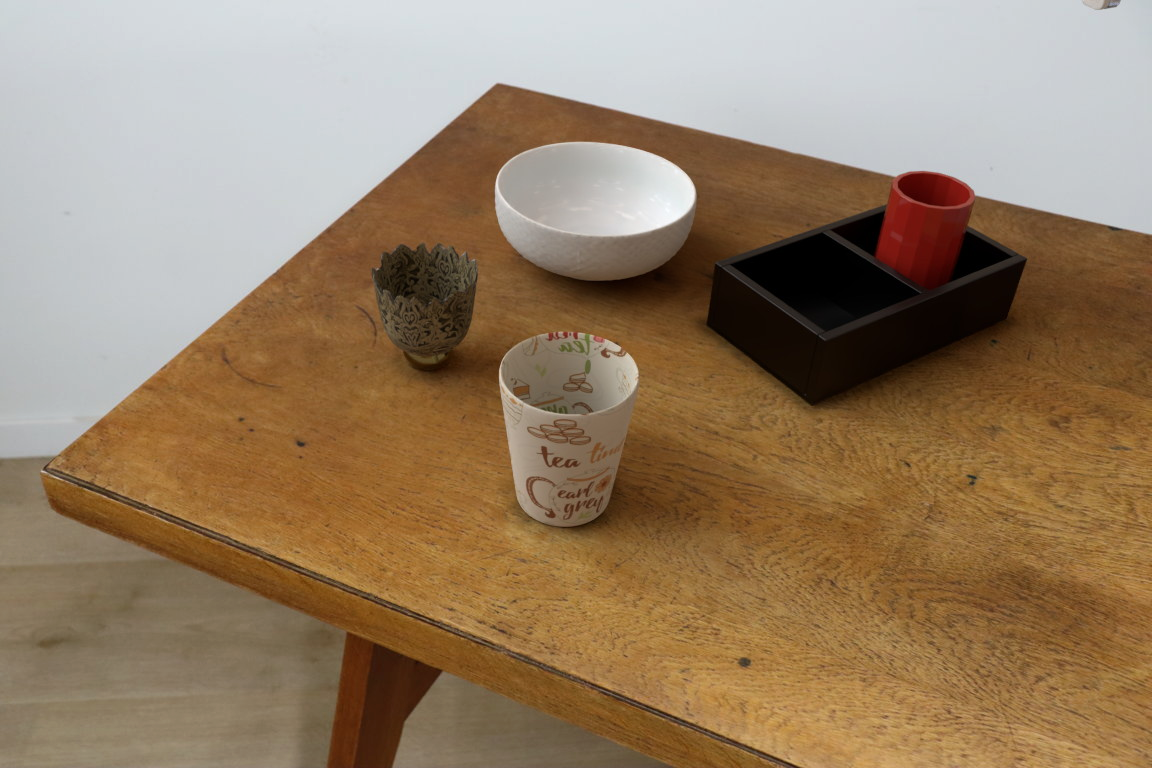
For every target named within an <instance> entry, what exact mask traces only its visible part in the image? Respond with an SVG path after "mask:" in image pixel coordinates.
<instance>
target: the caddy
mask: <svg viewBox="0 0 1152 768" xmlns="http://www.w3.org/2000/svg"><path fill="white" fill-rule="evenodd" d="M886 206H887V203H886V204H883V205H879V206H877V207H873V208H870V209H868V210H865V211H861V212H859V213H857V214H854V215H851V216H848V217H844V218H841V219H839V220H836V221H833V222H830V223H826V224H823V225H821V226H818V227H815V228H813V229H809V230H807V231H803V232H800V233H798V234H794V235H792V236H788V237H786V238H783V239H780V240H777V241H774V242H771V243H768V244H765V245H762V246H759V247H755V248H753V249H750V250H747V251H745V252H742V253H739V254H736V255H733V256H730V257H726V258H724V259H720V260H717V261H716V262H715V263H714V269H713V276H712V283H711V291H710V296H709V297H710V299H709V303H708V312H707V317H706V318H707V319H706V326H707V327H708V328H710V329H711V330H712V331H714V332H715V333H716V334H718V335H719V336H720V337H722V338H723V339H724V340H726V341H727V342H728V343H730V344H731V345H732V346H734V347H735V348H736V349H737V350H738V351H739V352H741V353H742V354H743V355H745V356H746V357H748V358H749V359H750V360H751V361H753V362H754V363H755V364H756V365H758V366H760V367H761V368H762V369H764V370H765V371H766V372H767V373H768V374H769V375H771V376H772V377H774V378H775V379H776V380H777V381H779V382H780V383H782V384H783V385H784V386H785V387H787V388H788V389H789V390H791V391H792V392H793V393H794V394H796V395H797V396H798V397H800V398H801V399H802V400H804V401H805V402H806V403H807V404H809V405H810V406H814V405H816V404H818V403H821V402H822V401H825V400H827V399H830V398H832V397H834V396H836V395H839V394H841V393H843V392H845V391H847V390H850V389H852V388H854V387H857V386H859V385H861V384H863V383H866V382H869V381H870V380H873V379H874V378H875V379H876V378H877V377H879V376H882V375H884V374H887V373H888V372H891V371H893V370H895V369H897V368H899V367H902V366H904V365H906V364H908V363H911V362H914V361H915V360H918V359H920V358H922V357H925V356H927V355H929V354H931V353H933V352H937V351H938V350H940V349H942V348H944V347H947V346H949V345H952V344H954V343H956V342H958V341H960V340H963V339H965V338H968V337H970V336H972V335H974V334H977V333H979V332H981V331H984V330H986V329H988V328H990V327H992V326H994V325H997V324H999V323H1002V322H1003V321H1006V320H1008V318H1009V313H1010V311H1011V308H1012V305H1013V303H1014V299H1015V296H1016V293H1017V290H1018V288H1019V284H1020V282H1021V278H1022V275H1023V272H1024V269H1025V267H1026V264H1027V260H1028V258H1027V257H1026V256H1024V255H1023V254H1020V253H1019V252H1017V251H1016V250H1013V249H1011V248H1010V247H1008V246H1005V245H1004V244H1002V243H1001V242H999V241H997V240H995V239H993V238H991V237H989V236H987V235H986V234H984V233H982V232H980V231H979V230H977V229H975V228H973V227H971V226H969V225H968V226H967V229H966V232H965V236H964V239H963V243H962V246H961V249H960V253H959V256H958V259H957V263H956V266H955V270H954V273H953V276H952V280H951V282H949V283H947V284H944V285H942V286H939V287H937V288H934V289H932V290H929V291H928V290H927V289H925V288H924V287H922V286H921V285H919V284H917V283H916V282H914V281H912V280H911V279H909V278H908V277H906V276H904V275H903V274H901V273H899V272H898V271H896V270H894V269H893V268H891V267H890V266H888V265H886V264H885V263H883V262H881V261H880V260H878V259H877V258H875V257H874V256H875V251H876V247H877V243H878V239H879V235H880V231H881V227H882V223H883V218H884V214H885V210H886Z"/></svg>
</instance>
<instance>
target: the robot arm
mask: <svg viewBox="0 0 1152 768" xmlns="http://www.w3.org/2000/svg"><path fill="white" fill-rule="evenodd" d="M1121 1H1122V0H1081V2H1082V4H1083V5H1084V6H1086V7H1088V8H1090V9H1093V10H1095V11H1101V10H1107V9H1112V8H1113V9H1114V8H1117V7H1118V6H1119V5H1120V3H1121Z"/></svg>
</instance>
